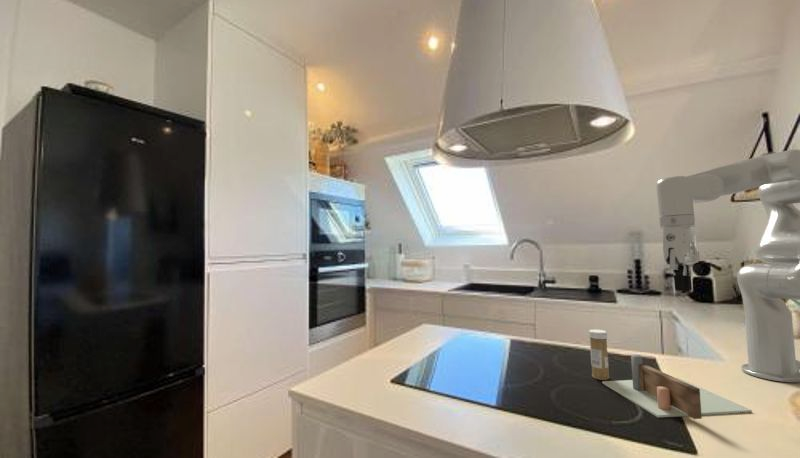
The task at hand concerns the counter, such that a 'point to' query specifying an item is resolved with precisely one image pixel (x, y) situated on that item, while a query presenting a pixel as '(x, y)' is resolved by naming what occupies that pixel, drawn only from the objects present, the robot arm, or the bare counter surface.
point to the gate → (672, 390)
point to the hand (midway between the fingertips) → (683, 290)
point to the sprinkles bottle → (599, 354)
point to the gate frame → (662, 403)
